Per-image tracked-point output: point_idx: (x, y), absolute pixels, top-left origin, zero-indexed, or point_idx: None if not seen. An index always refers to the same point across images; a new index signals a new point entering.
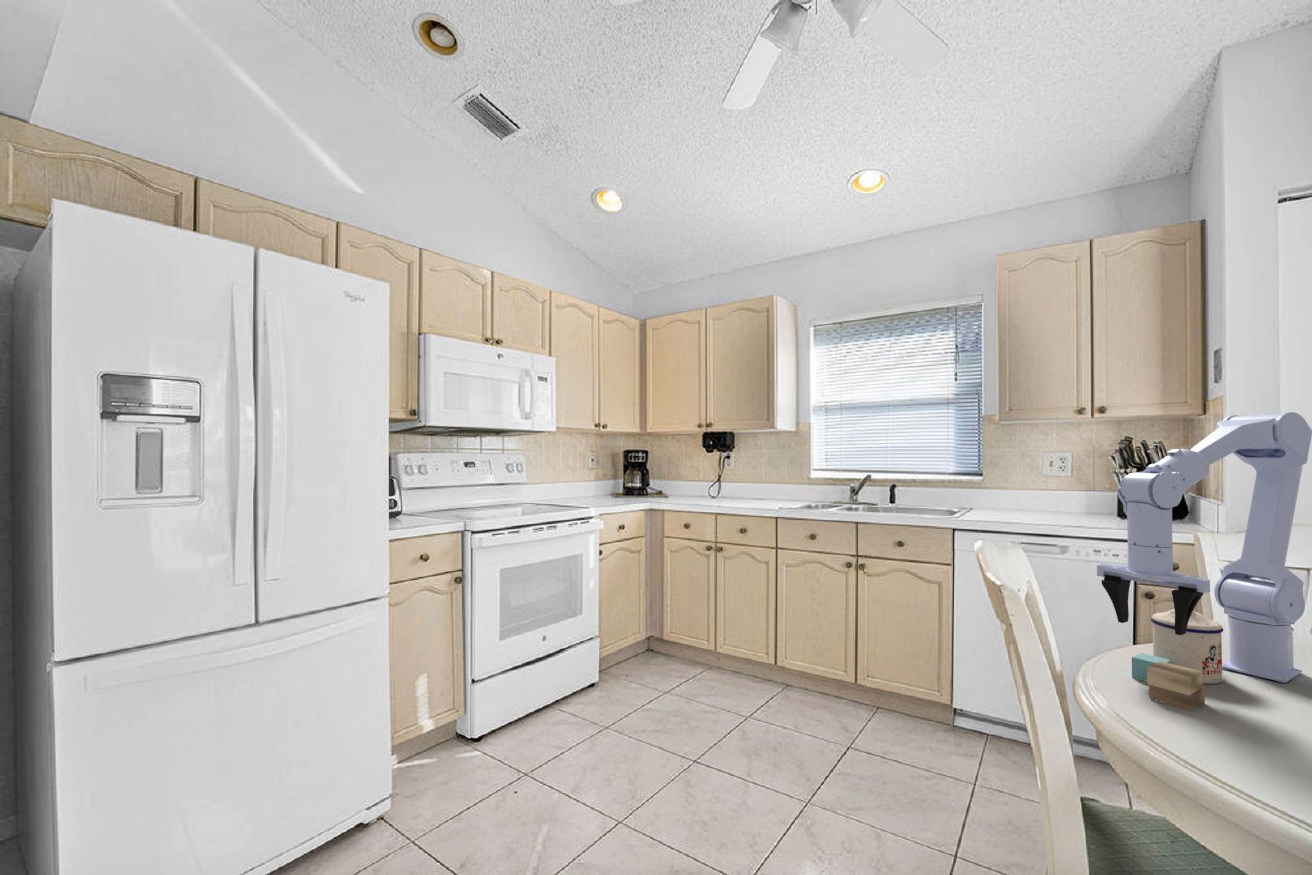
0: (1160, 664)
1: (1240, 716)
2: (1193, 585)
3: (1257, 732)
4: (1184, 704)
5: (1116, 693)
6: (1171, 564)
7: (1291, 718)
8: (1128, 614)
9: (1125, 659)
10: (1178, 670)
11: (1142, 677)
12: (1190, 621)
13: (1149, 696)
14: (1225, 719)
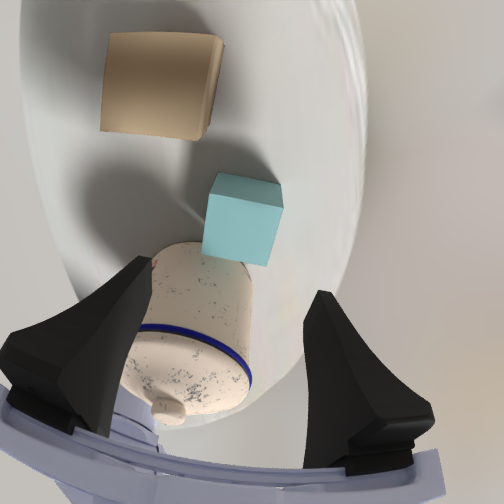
0: (189, 103)
1: (80, 94)
2: (22, 425)
3: (56, 34)
4: None
5: (292, 26)
6: None
7: (40, 163)
8: (303, 343)
9: (303, 302)
10: (140, 81)
11: (258, 182)
12: (147, 361)
13: (223, 46)
14: (94, 50)
